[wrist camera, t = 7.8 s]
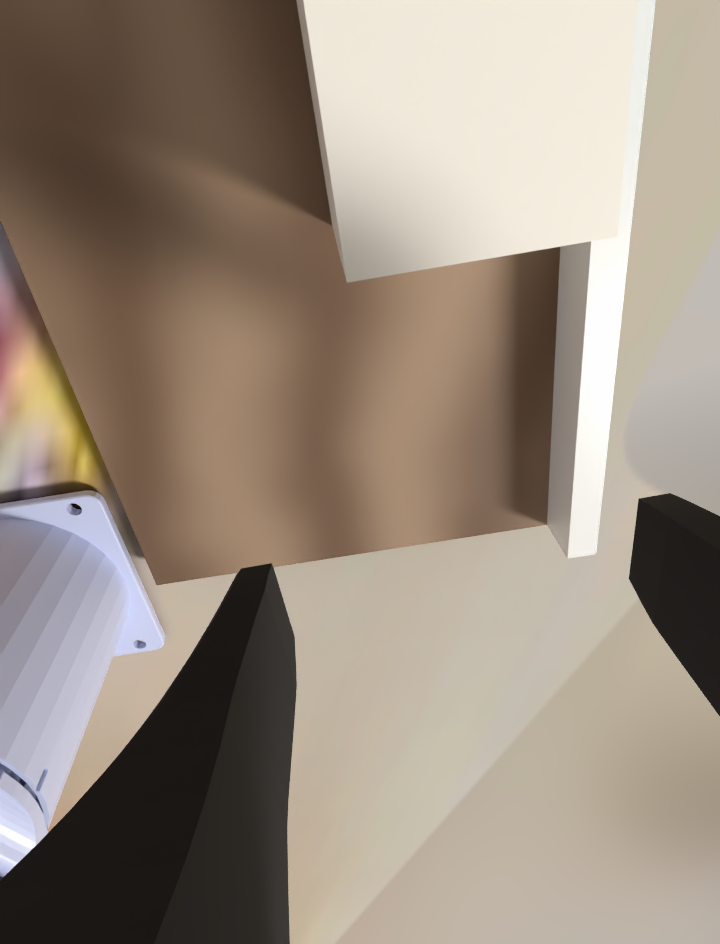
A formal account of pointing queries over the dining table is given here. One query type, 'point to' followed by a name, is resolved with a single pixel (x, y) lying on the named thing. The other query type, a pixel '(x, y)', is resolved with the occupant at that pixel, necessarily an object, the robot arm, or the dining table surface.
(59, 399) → the dining table surface
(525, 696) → the dining table surface
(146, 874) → the robot arm
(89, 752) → the dining table surface
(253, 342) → the brown tray
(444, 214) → the carton
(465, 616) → the dining table surface
